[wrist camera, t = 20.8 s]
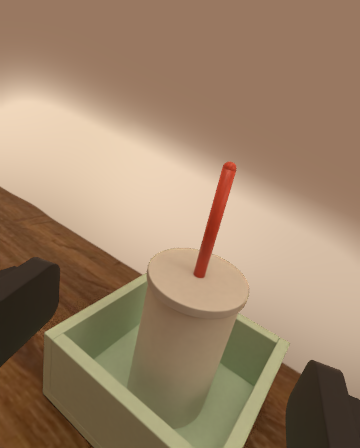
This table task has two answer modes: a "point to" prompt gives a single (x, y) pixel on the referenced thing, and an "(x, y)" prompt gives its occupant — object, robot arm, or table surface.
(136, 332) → the bin
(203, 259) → the straw cup
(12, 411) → the table surface
